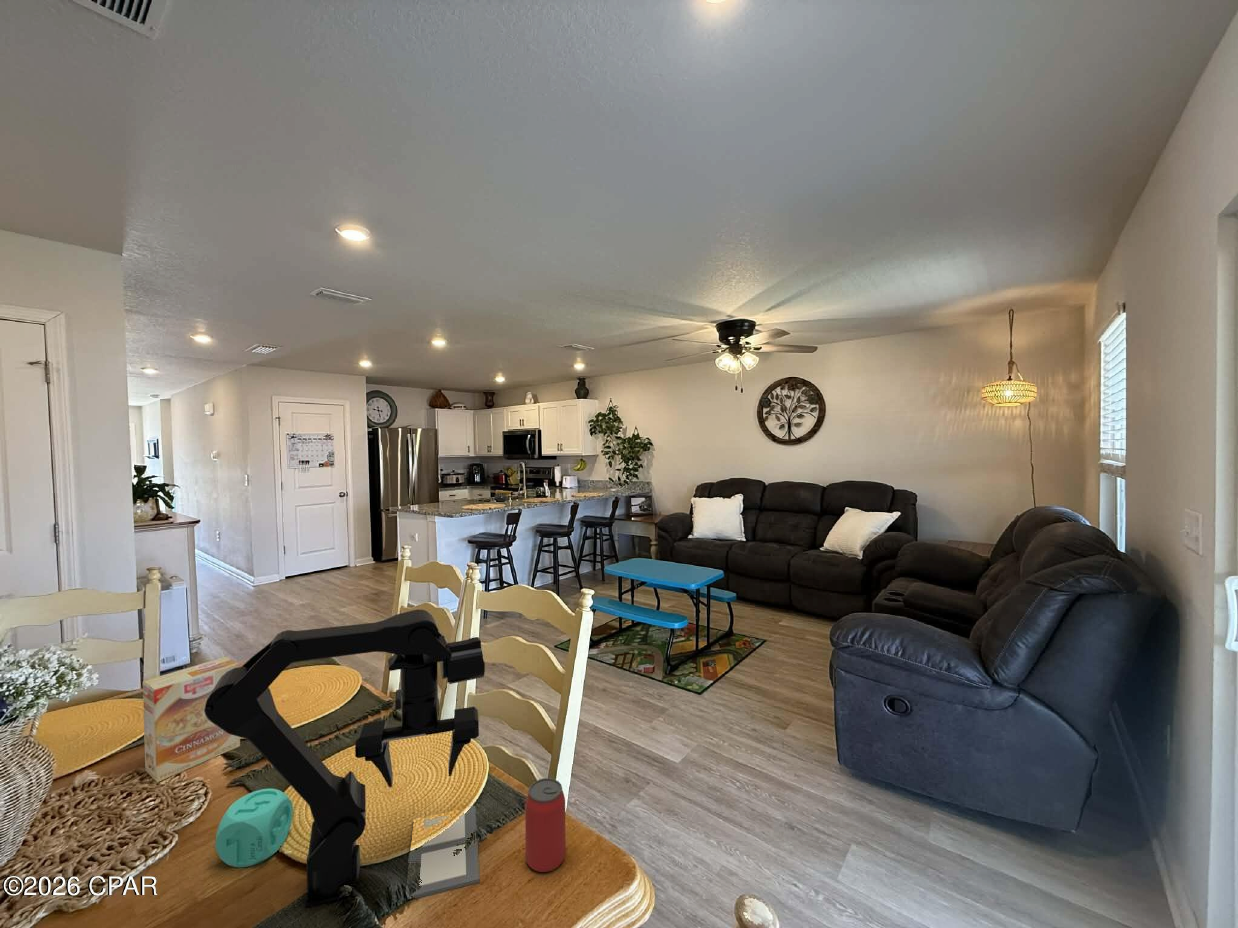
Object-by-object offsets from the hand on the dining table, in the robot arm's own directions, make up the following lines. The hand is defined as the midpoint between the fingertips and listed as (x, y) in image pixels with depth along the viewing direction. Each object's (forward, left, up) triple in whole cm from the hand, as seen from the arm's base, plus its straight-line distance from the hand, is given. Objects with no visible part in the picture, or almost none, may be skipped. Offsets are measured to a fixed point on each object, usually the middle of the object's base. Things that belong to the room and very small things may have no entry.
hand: (420, 779), depth 85 cm
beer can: (+20, -7, -13) cm, 25 cm away
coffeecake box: (-49, +43, -13) cm, 67 cm away
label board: (+3, 0, -13) cm, 13 cm away
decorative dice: (-27, +10, -13) cm, 32 cm away
